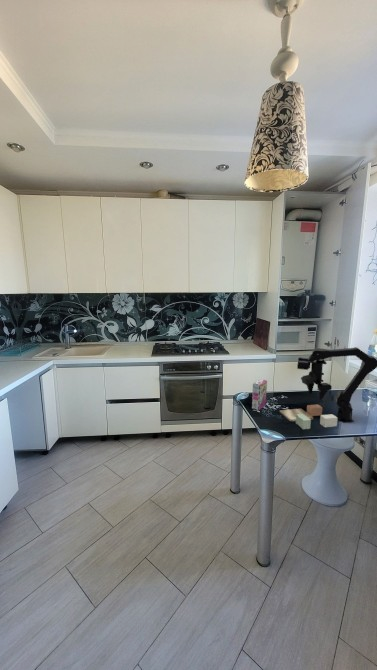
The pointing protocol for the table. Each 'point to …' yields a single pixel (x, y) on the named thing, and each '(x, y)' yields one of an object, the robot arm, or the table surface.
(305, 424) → the sage brick
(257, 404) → the candy bar box
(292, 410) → the birch board
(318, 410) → the terracotta brick
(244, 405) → the table surface
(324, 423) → the cream brick
